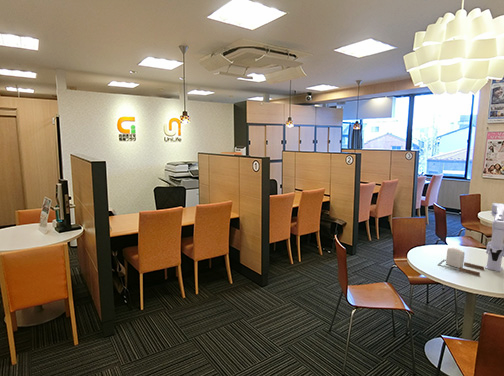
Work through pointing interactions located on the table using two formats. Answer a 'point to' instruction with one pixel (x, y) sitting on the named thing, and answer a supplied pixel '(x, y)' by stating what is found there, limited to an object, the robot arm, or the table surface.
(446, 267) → the charcoal frame
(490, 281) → the table surface
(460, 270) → the walnut rails
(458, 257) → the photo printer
